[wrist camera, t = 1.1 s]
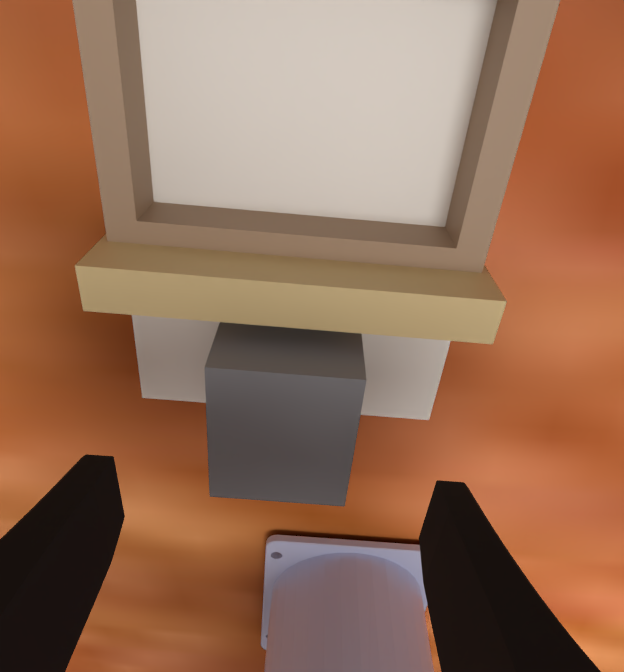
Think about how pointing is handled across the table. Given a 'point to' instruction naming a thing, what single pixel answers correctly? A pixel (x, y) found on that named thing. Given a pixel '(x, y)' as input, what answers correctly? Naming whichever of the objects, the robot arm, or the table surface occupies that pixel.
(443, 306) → the door board
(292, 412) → the gray block
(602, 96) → the table surface
